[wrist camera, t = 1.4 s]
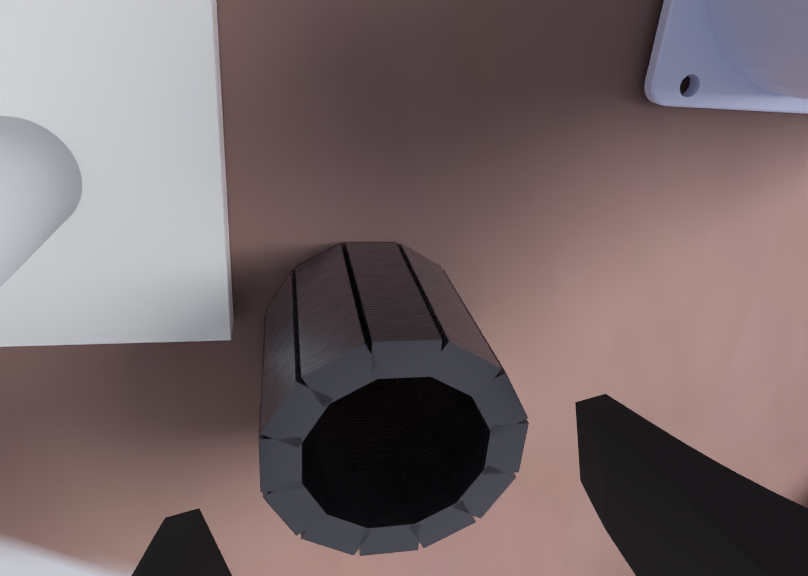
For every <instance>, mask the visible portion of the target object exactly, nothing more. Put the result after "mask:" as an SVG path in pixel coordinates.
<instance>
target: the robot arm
mask: <svg viewBox="0 0 808 576" xmlns="http://www.w3.org/2000/svg"><path fill="white" fill-rule="evenodd" d="M686 76H689V78H690V85H689V87H688V89H687V90H686V91H685V92H684V93H683V94H681V93H680V84H681V82H682V80H683V79H684V78H685V77H686ZM644 91H645V94H646V97H647V98H648V99H649V100H650V101H651V102H653V103H656V104H659V105H663V106H674V107H693V108H711V109H729V110H748V111H766V112H785V113H803V114H808V0H664V2H663V6H662V11H661V15H660V19H659V23H658V28H657V32H656V36H655V41H654V45H653V49H652V54H651V58H650V62H649V66H648V71H647V75H646V79H645V88H644ZM575 403H576V418H577V434H578V449H579V464H580V479H581V482H582V484H583V486H584V488H585V490H586V492H587V494H588V496H589V498H590V500H591V502H592V504H593V506H594V508H595V510H596V512H597V514H598V516H599V518H600V520H601V522H602V524H603V526H604V527H605V529H606V531H607V532H608V534H609V535H610V537H611V539H612V540H613V542H614V543H615V545H616V546H617V548H618V549H619V551H620V552H621V554H622V555H623V557H624V558H625V560H626V561H627V563H628V564H629V566H630V567H631V569H632V570H633V572H634V573H635V575H636V576H808V508H806V507H804V506H802V505H800V504H797V503H795V502H793V501H791V500H789V499H787V498H785V497H783V496H781V495H778V494H776V493H774V492H772V491H770V490H768V489H767V488H765V487H763V486H761V485H759V484H757V483H755V482H753V481H751V480H749V479H747V478H745V477H744V476H742V475H740V474H738V473H736V472H734V471H732V470H730V469H729V468H727V467H725V466H723V465H721V464H720V463H718V462H716V461H714V460H712V459H711V458H709V457H707V456H706V455H704V454H702V453H700V452H699V451H697V450H695V449H694V448H692V447H690V446H688V445H687V444H685V443H683V442H682V441H680V440H678V439H677V438H675V437H674V436H672V435H670V434H669V433H667V432H665V431H664V430H662V429H661V428H659V427H657V426H656V425H654V424H653V423H651V422H649V421H648V420H646V419H645V418H643V417H641V416H640V415H638V414H637V413H635V412H633V411H632V410H630V409H629V408H627V407H626V406H624V405H622V404H621V403H619V402H618V401H616V400H614V399H613V398H611V397H610V396H608V395H606V394H604V395H600V396H597V397H593V398H590V399H586V400H582V401H579V402H575ZM132 576H232V575H231V573H230V571H229V569H228V567H227V565H226V562H225V560H224V558H223V556H222V554H221V552H220V550H219V548H218V546H217V544H216V542H215V540H214V538H213V536H212V534H211V532H210V530H209V527H208V525H207V523H206V521H205V519H204V517H203V515H202V513H201V511H200V509H195V510H191V511H188V512H184V513H181V514H177V515H174V516H170V517H167V518H165V519H164V521H163V523H162V524H161V526H160V527H159V529H158V531H157V533H156V534H155V536H154V538H153V539H152V541H151V543H150V545H149V546H148V548H147V550H146V552H145V553H144V555H143V557H142V559H141V560H140V562H139V564H138V566H137V567H136V569H135V571H134V572H133V574H132Z"/></svg>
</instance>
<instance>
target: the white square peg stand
mask: <svg viewBox="0 0 808 576" xmlns="http://www.w3.org/2000/svg"><path fill="white" fill-rule="evenodd" d="M233 322H234V317H233V298H232V280H231V261H230V243H229V224H228V205H227V187H226V168H225V150H224V131H223V113H222V94H221V76H220V57H219V39H218V20H217V1H216V0H0V347H11V346H46V345H81V344H116V343H151V342H186V341H221V340H231V336H232V329H233Z"/></svg>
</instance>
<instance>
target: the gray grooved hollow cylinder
mask: <svg viewBox="0 0 808 576" xmlns="http://www.w3.org/2000/svg"><path fill="white" fill-rule="evenodd" d="M295 270H296V273H295V272H293V271H291V272H290V274H289V275H288V277H287V279H286V280H285V282H284V283H283V285H282V286H281V288H280V290H279V291H278V293H277V294H276V296H275V298H274V299H273V301H272V302H271V304H270V305H269V307H268V309H267V310H266V315H265V326H264V345H263V365H262V384H261V404H260V423H259V462H260V489H261V492H263V498H264V499H265V500H266V502H267V503H268V504H269V505H270V506H271V507H272V508H273V510H274V511H275V512H276V513H277V514H278V515H279V516H280V518H281V519H282V520H283V521H284V522H285V523H286V524H287V526H288V527H289V528H290V529H291V530H292V531H293V532H294V534H295V535H298V534H300V533H301V539H304V540H307V541H310V542H313V543H316V544H320V545H323V546H326V547H329V548H332V549H335V550H338V551H342V552H345V553H348V554H351V555H354V554H355V553H356V552H357V550H358V549H359V554H360V556H363V555H373V554H383V553H393V552H403V551H412V550H418V544H419V542H420V543H421V545H422V546H423V548H425V547H427V546H429V545H431V544H433V543H435V542H437V541H439V540H441V539H443V538H445V537H447V536H449V535H451V534H453V533H455V532H457V531H459V530H461V529H463V528H465V527H467V526H469V525H471V524H473V523H475V522H476V521H475V518H474V516H476V517H479V518H481V517H482V516H483V515H484V514H485V513H486V512H487V511H488V509H489V508H490V507H491V506H492V505H493V504H494V502H495V501H496V500H497V499H498V498H499V497H500V495H501V494H502V493H503V492H504V491H505V490H506V488H507V487H508V486H509V485H510V484H511V483H512V481H513V480H514V479H515V478H516V476H515V474H514V472H519V468H520V463H521V458H522V453H523V448H524V443H525V438H526V434H527V429H528V424H529V423H528V421H527V420H526V419H527V418H528V417H527V415H526V413H525V411H524V409H523V407H522V405H521V403H520V401H519V398H518V396H517V394H516V392H515V390H514V388H513V386H512V384H511V382H510V380H509V378H508V376H507V374H506V372H505V370H504V369H503V367H502V365H501V364H500V362H499V360H498V359H497V357H496V356H495V354H494V352H493V351H492V349H491V347H490V346H489V344H488V342H487V341H486V339H485V337H484V336H483V334H482V332H481V331H480V329H479V328H478V326H477V324H476V323H475V321H474V319H473V318H472V316H471V314H470V313H469V311H468V309H467V308H466V306H465V304H464V303H463V301H462V299H461V298H460V296H459V295H458V293H457V291H456V290H455V288H454V286H453V285H452V283H451V281H450V280H449V278H448V276H447V275H446V273H445V271H444V270H442V268H441V267H440V266H439V265H437V264H435V263H433V262H432V261H430V260H428V259H427V258H425V257H423V256H421V255H420V254H418V253H416V252H414V251H413V250H411V249H409V248H407V247H406V246H404V245H402V244H400V246H399V247H398V246H397V244H396V242H346V246H345V251H344V249H343V247H342V246H341V244H338V245H336V246H335V247H333V248H331V249H329V250H327V251H325V252H323V253H321V254H319V255H318V256H316V257H314V258H312V259H310V260H308V261H306V262H304V263H302V264H301V265H299V266H297V267H295ZM386 378H403V379H401V380H399V381H397V382H395V383H393V384H391V385H389V386H388V387H386V388H384V389H382V390H374V391H355V390H357V389H359V388H361V387H363V386H365V385H367V384H369V383H371V382H373V381H375V380H376V379H386Z"/></svg>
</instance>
